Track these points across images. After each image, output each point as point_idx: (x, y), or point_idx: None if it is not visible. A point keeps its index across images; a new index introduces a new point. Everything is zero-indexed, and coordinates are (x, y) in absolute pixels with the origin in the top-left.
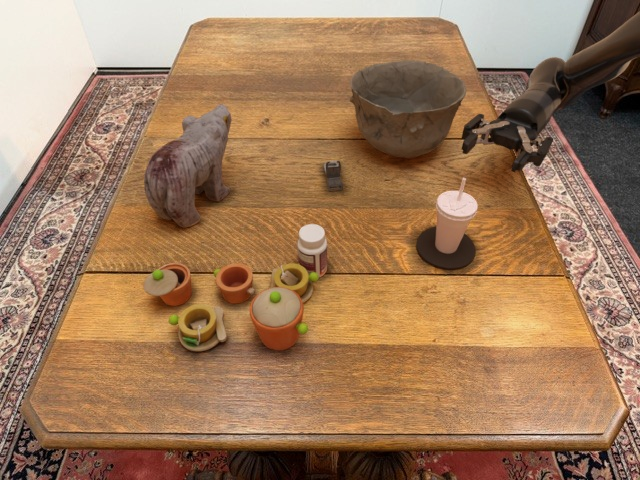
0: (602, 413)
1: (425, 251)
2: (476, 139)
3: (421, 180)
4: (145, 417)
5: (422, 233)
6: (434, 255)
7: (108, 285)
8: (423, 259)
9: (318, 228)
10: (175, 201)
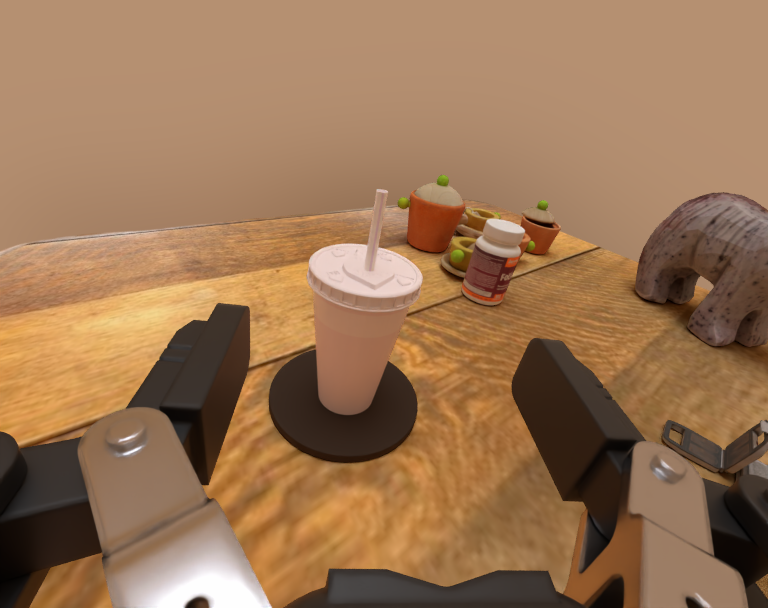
0: (13, 257)
1: None
2: (585, 457)
3: None
4: None
5: (413, 401)
6: None
7: (574, 244)
8: None
9: (508, 229)
10: (652, 235)
